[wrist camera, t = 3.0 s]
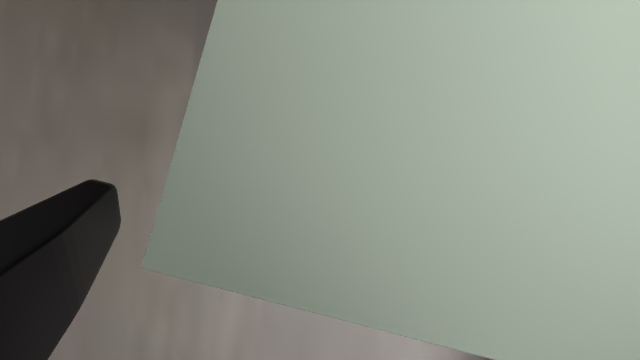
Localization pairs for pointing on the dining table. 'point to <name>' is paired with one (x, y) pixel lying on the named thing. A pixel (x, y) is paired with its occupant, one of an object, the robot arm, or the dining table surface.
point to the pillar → (419, 170)
